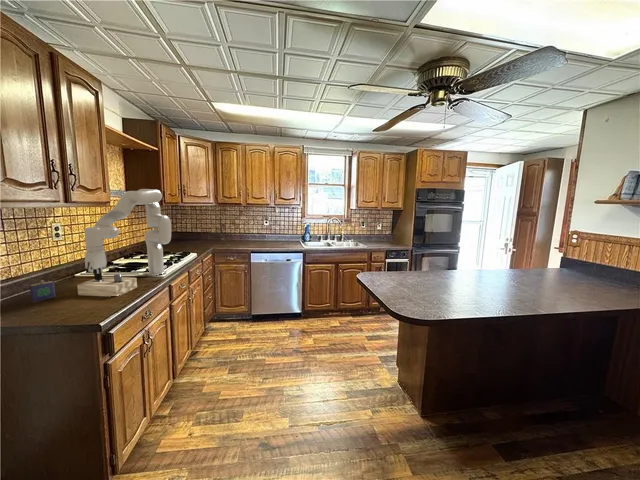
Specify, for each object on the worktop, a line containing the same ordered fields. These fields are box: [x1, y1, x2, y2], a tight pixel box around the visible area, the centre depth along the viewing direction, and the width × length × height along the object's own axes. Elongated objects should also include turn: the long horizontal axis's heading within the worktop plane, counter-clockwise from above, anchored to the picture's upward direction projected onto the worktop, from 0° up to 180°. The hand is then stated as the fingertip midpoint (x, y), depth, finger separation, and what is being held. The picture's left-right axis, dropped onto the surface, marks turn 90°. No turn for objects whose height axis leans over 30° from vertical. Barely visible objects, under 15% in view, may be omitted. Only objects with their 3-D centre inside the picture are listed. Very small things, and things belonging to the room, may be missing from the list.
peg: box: [113, 273, 123, 283], centre depth 157 cm, size 4×4×6 cm
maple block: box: [77, 276, 138, 297], centre depth 158 cm, size 16×22×6 cm
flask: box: [29, 279, 56, 303], centre depth 143 cm, size 9×3×11 cm, turn 152°
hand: (98, 279), depth 158 cm, fingers closed
